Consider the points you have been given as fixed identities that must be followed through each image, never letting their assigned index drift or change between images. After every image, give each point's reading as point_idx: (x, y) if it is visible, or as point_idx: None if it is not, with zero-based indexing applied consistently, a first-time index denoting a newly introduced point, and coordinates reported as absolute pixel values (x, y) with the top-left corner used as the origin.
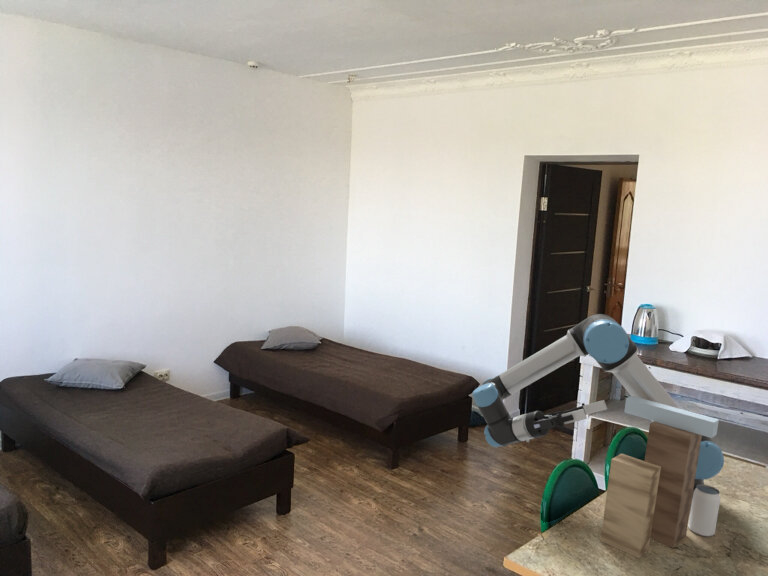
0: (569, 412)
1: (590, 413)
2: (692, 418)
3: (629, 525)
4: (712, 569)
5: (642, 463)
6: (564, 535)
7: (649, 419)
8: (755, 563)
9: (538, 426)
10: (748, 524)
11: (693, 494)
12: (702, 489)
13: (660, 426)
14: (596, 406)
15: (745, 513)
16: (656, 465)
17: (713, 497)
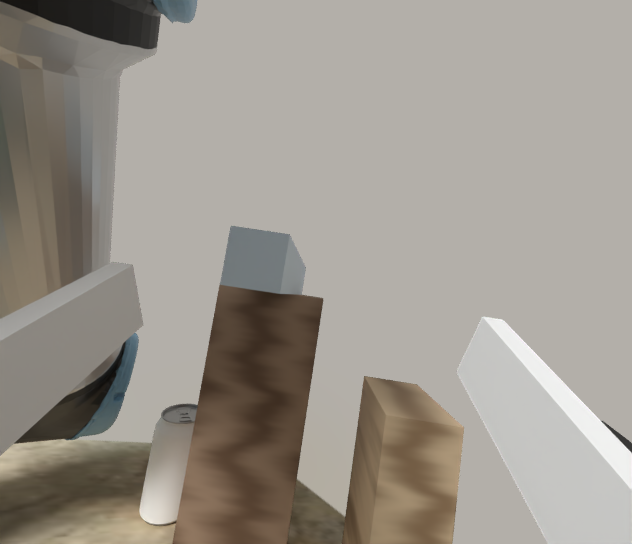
0: (592, 421)
1: (2, 450)
2: (303, 267)
3: None
4: (307, 487)
5: (390, 390)
6: None
7: (290, 293)
8: None
9: None
10: (100, 451)
11: (180, 443)
12: (184, 419)
13: (321, 298)
14: (79, 334)
15: (44, 453)
16: (367, 379)
17: None
